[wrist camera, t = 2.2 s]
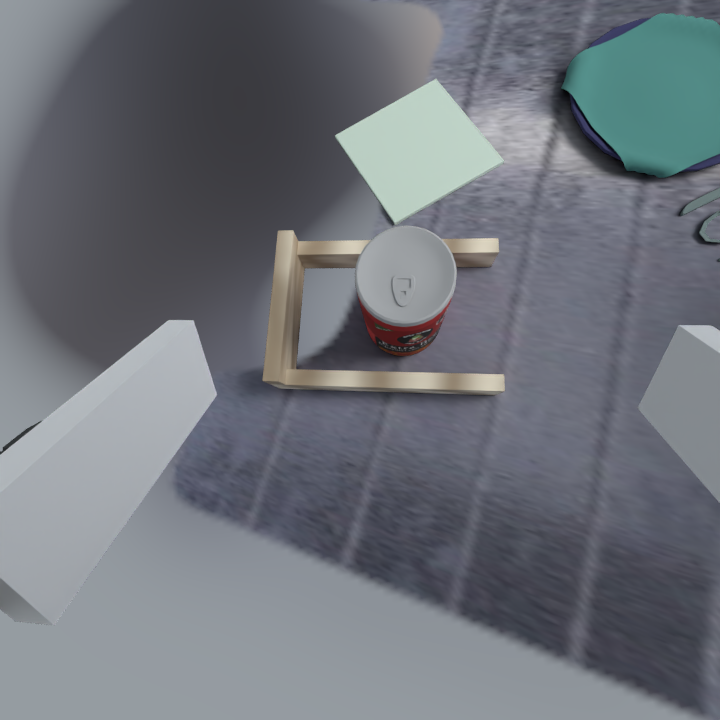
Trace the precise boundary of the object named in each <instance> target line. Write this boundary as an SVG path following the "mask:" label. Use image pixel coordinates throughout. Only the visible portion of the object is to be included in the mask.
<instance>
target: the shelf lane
mask: <svg viewBox="0 0 720 720" xmlns="http://www.w3.org/2000/svg"><path fill="white" fill-rule="evenodd" d="M442 240H443V241H444V242H445V243H446V245H447V246H448V247H449V249H450V251H451V252H452V254H453V257H454V260H455V263H456V267H491V266H492V264H493V262H494V260H495V258H496V256H497V255H498V253H499V246H498V238H482V239H442ZM369 241H370V240H363V241H362V240H361V241H300V242H299V241H298V240H297V238H296V236H295V234H294V232H293V231H278V236H277V247H276V256H275V266H274V275H273V285H272V294H271V304H270V313H269V323H268V333H267V343H266V352H265V361H264V371H263V381H264V382H266V383H268V384H271V385H273V386H275V387H278V388H280V389H310V390H342V391H374V392H407V393H439V394H472V395H497V394H500V393H502V392H504V391H505V385H504V375H503V374H462V373H422V372H381V371H340V370H300V369H296V365H297V353H298V341H299V329H300V318H301V306H302V293H303V282H304V270H305V268H356V264H357V261H358V258H359V255H360V254H361V252H362V250H363V249H364V247H365V246H366V245H367V244H368V243H369Z"/></svg>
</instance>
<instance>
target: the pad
mask: <svg viewBox="0 0 720 720" xmlns="http://www.w3.org/2000/svg"><path fill="white" fill-rule="evenodd" d="M335 138H336V140H337V141H338V143H339V144H340V145H341V147H342V148H343V150H344V151H345V153H346V154H347V156H348V157H349V159H350V160H351V162H352V163H353V165H354V166H355V167H356V169H357V170H358V172H359V173H360V175H361V176H362V178H363V179H364V180H365V182H366V183H367V185H368V186H369V188H370V189H371V191H372V192H373V194H374V195H375V197H376V198H377V200H378V201H379V202H380V204H381V205H382V207H383V208H384V210H385V211H386V213H387V214H388V216H389V217H390V219H391V220H392V221H393V223H394V224H395V225H396V224H398V223H400V222H401V221H403V220H405V219H407V218H408V217H410V216H412V215H414V214H416V213H417V212H419V211H421V210H423V209H424V208H426V207H428V206H430V205H431V204H433V203H435V202H437V201H438V200H440V199H442V198H444V197H445V196H447V195H449V194H451V193H452V192H454V191H456V190H458V189H459V188H461V187H463V186H465V185H466V184H468V183H470V182H472V181H473V180H475V179H477V178H479V177H480V176H482V175H484V174H486V173H488V172H489V171H491V170H493V169H495V168H496V167H498V166H500V165H502V164H503V163H504V160H503V159H502V158H501V156H500V155H499V154H498V153H497V152H496V150H495V149H494V148H493V147H492V146H491V144H490V143H489V142H488V141H487V140H486V138H485V137H484V136H483V135H482V134H481V132H480V131H479V130H478V129H477V128H476V126H475V125H474V124H473V123H472V122H471V120H470V119H469V118H468V117H467V116H466V114H465V113H464V112H463V111H462V110H461V108H460V107H459V106H458V105H457V104H456V102H455V101H454V100H453V99H452V98H451V96H450V95H449V94H448V93H447V92H446V90H445V89H444V88H443V87H442V86H441V84H440V83H439V82H438V81H437V79H435V80H433V81H431V82H429V83H428V84H426V85H424V86H422V87H420V88H419V89H417V90H415V91H413V92H412V93H410V94H408V95H407V96H405V97H403V98H401V99H399V100H397V101H396V102H394V103H392V104H390V105H389V106H387V107H385V108H383V109H381V110H380V111H378V112H376V113H374V114H372V115H371V116H369V117H367V118H365V119H364V120H362V121H360V122H358V123H356V124H355V125H353V126H351V127H350V128H348V129H346V130H344V131H342V132H341V133H339V134H337V135H335Z"/></svg>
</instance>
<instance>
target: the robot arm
mask: <svg viewBox="0 0 720 720" xmlns="http://www.w3.org/2000/svg"><path fill="white" fill-rule="evenodd" d="M216 396H217V393H216V390H215V386H214V383H213V380H212V377H211V374H210V371H209V368H208V365H207V361H206V358H205V355H204V352H203V349H202V346H201V342H200V339H199V336H198V333H197V330H196V327H195V324H194V321H193V320H168V321H167V322H166V323H165V324H163V325H162V326H161V327H160V328H158V329H157V330H156V331H155V332H153V333H152V334H151V335H150V336H148V337H147V338H146V339H145V340H143V341H142V342H141V343H140V344H138V345H137V346H136V347H135V348H133V349H132V350H131V351H130V352H128V353H127V354H126V355H125V356H123V357H122V358H121V359H119V360H118V361H117V362H116V363H114V364H113V365H112V366H111V367H110V368H108V369H107V370H106V371H105V372H103V373H102V374H101V375H99V376H98V377H97V378H96V379H94V380H93V381H92V382H91V383H89V384H88V385H87V386H86V387H85V388H83V389H82V390H81V391H79V392H78V393H77V394H76V395H74V396H73V397H72V398H71V399H70V400H68V401H67V402H66V403H65V404H63V405H62V406H61V407H59V408H58V409H57V410H56V411H54V412H53V413H52V414H51V415H49V416H48V417H47V418H46V419H44V420H42V421H40V422H38V423H37V424H35V425H33V426H31V427H29V428H27V429H26V430H25V431H24V432H22V433H21V434H20V435H18V436H17V437H16V438H14V439H13V440H12V441H11V442H9V443H8V444H7V445H6V446H4V447H3V451H2V452H0V609H1V610H2V611H3V612H4V613H6V614H7V615H8V616H9V617H10V618H12V619H13V620H14V621H17V622H25V623H35V624H44V625H55V624H56V622H57V621H58V619H59V618H60V616H61V615H62V614H63V612H64V610H65V609H66V608H67V607H68V605H69V604H70V602H71V601H72V599H73V598H74V597H75V595H76V594H77V592H78V591H79V589H80V588H81V587H82V585H83V584H84V582H85V581H86V580H87V578H88V577H89V575H90V574H91V572H92V571H93V570H94V568H95V567H96V565H97V564H98V562H99V561H100V560H101V558H102V557H103V556H104V554H105V553H106V551H107V550H108V548H109V547H110V546H111V544H112V543H113V541H114V540H115V539H116V537H117V536H118V534H119V533H120V531H121V530H122V529H123V527H124V526H125V524H126V523H127V522H128V520H129V519H130V517H131V516H132V514H133V513H134V512H135V510H136V509H137V507H138V506H139V505H140V503H141V502H142V500H143V499H144V497H145V496H146V495H147V493H148V492H149V490H150V489H151V488H152V486H153V485H154V483H155V482H156V481H157V479H158V478H159V476H160V475H161V473H162V472H163V471H164V469H165V468H166V466H167V465H168V464H169V462H170V461H171V459H172V458H173V456H174V455H175V454H176V452H177V451H178V449H179V448H180V447H181V445H182V444H183V442H184V441H185V439H186V438H187V437H188V435H189V434H190V432H191V431H192V430H193V428H194V427H195V425H196V424H197V422H198V421H199V420H200V418H201V417H202V415H203V414H204V413H205V411H206V410H207V408H208V407H209V406H210V404H211V403H212V401H213V400H214V398H215V397H216ZM638 409H639V411H640V412H641V413H642V414H643V415H644V416H645V417H646V419H647V420H648V421H649V422H650V423H651V424H652V426H653V427H654V428H655V429H656V430H657V431H658V432H659V434H660V435H661V436H662V437H663V438H664V439H665V441H666V442H667V443H668V444H669V445H670V446H671V447H672V449H673V450H674V451H675V452H676V453H677V454H678V455H679V457H680V458H681V459H682V460H683V461H684V462H685V464H686V465H687V466H688V467H689V468H690V469H691V470H692V472H693V473H694V474H695V475H696V476H697V477H698V479H699V480H700V481H701V482H702V483H703V484H704V485H705V487H706V488H707V489H708V490H709V491H710V492H711V493H712V495H713V496H714V497H715V498H716V499H717V500H718V502H719V503H720V330H718V329H716V328H715V327H713V326H708V325H679V326H678V328H677V330H676V332H675V334H674V336H673V338H672V340H671V342H670V344H669V346H668V348H667V350H666V352H665V354H664V356H663V358H662V360H661V362H660V364H659V366H658V368H657V370H656V372H655V374H654V376H653V378H652V380H651V382H650V384H649V386H648V388H647V390H646V392H645V394H644V396H643V398H642V400H641V402H640V404H639V406H638Z"/></svg>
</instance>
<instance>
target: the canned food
mask: <svg viewBox="0 0 720 720" xmlns="http://www.w3.org/2000/svg"><path fill="white" fill-rule="evenodd" d="M456 275H457V271H456V263H455V260H454V257H453V254H452V252H451V251H450V249H449V247H448V246H447V245H446V243H445V242H444V241H443V240H442V239H441V238H440V237H438V236H437V235H436V234H434V233H432V232H430V231H428V230H426V229H423V228H420V227H416V226H399V227H394V228H391V229H387V230H385V231H383V232H381V233H379V234H378V235H377V236H375V237H374V238H373V239H371V240H370V241H369V243H368V244H367V245H366V246H365V247H364V249H363V250H362V252H361V254H360V255H359V258H358V261H357V264H356V270H355V286H356V290H357V295H358V299H359V303H360V306H361V309H362V313H363V316H364V320H365V323H366V327H367V330H368V333H369V335H370V337H371V339H372V340H373V341H374V343H375V344H376V345H377V346H378V347H379V348H381V349H382V350H384V351H386V352H387V353H390V354H393V355H399V356H408V355H413V354H416V353H418V352H420V351H422V350H424V349H425V348H427V347H428V346H429V345H430V344H431V343H432V342H433V340H434V339H435V337H436V336H437V334H438V332H439V329H440V327H441V324H442V322H443V319H444V317H445V314H446V312H447V309H448V307H449V304H450V302H451V299H452V296H453V292H454V289H455V285H456Z"/></svg>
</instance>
